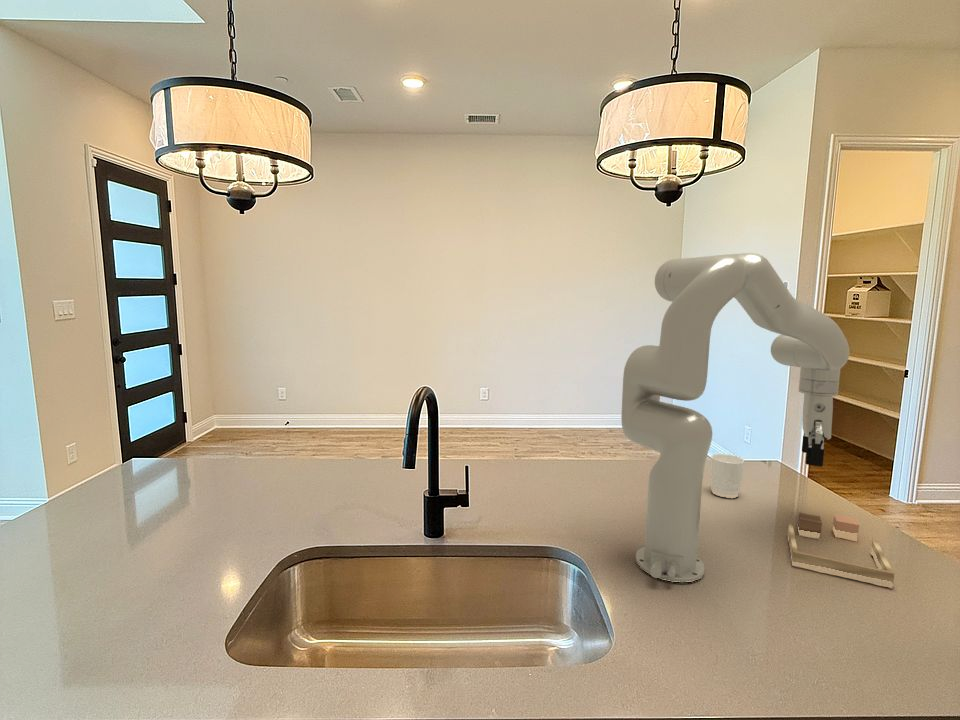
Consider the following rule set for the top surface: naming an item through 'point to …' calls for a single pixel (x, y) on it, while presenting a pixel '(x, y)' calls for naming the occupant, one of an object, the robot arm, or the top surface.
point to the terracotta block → (845, 523)
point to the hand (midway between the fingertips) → (811, 458)
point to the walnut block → (809, 522)
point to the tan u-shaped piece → (848, 567)
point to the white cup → (726, 473)
